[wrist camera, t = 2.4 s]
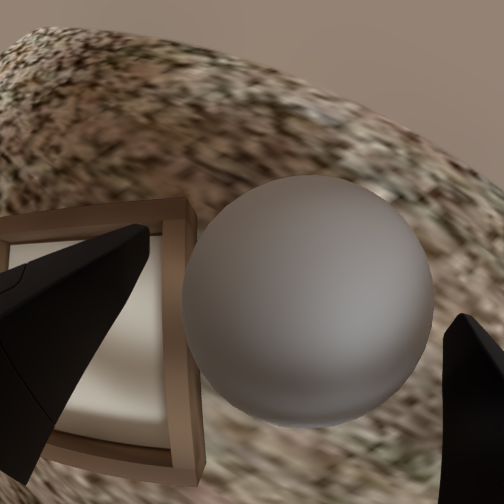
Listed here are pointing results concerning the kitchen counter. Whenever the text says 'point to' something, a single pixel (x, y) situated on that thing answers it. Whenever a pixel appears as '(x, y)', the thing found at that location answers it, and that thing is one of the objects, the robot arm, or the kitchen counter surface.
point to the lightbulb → (307, 302)
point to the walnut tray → (128, 349)
